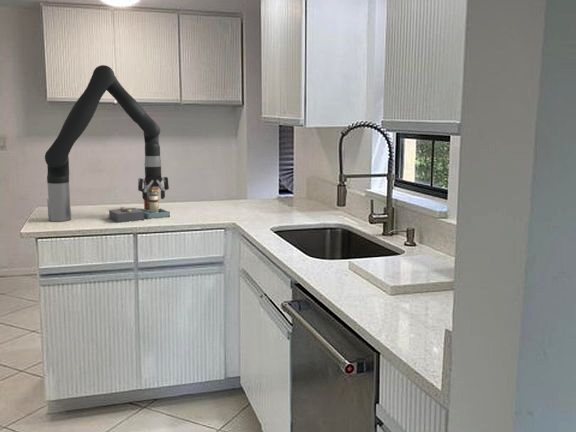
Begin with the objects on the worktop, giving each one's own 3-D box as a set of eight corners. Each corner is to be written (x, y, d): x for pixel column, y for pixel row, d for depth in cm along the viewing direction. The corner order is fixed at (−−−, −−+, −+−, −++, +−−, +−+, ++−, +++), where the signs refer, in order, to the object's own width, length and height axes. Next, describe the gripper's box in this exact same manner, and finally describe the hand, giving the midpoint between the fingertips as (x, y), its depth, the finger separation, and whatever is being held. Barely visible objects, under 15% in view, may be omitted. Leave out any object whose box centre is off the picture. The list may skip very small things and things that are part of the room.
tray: (147, 219, 274) (147, 213, 274) (139, 215, 283) (138, 210, 283) (169, 217, 281) (169, 211, 280) (160, 213, 289) (160, 208, 289)
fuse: (151, 216, 279) (150, 193, 277) (148, 214, 282) (147, 192, 280) (160, 215, 281) (159, 192, 279) (156, 213, 285) (155, 191, 283)
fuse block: (117, 222, 265) (117, 211, 264) (109, 218, 275) (109, 207, 274) (143, 220, 272) (143, 209, 271) (134, 216, 282) (134, 205, 281)
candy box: (159, 211, 296) (159, 180, 293) (151, 212, 293) (151, 181, 290) (151, 208, 302) (150, 179, 300) (143, 209, 300) (142, 179, 297)
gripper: (141, 166, 271) (142, 201, 274) (170, 165, 279) (171, 199, 281) (135, 165, 277) (136, 199, 280) (164, 164, 285) (164, 197, 288)
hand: (153, 199), depth 281 cm, fingers open, 8 cm apart
